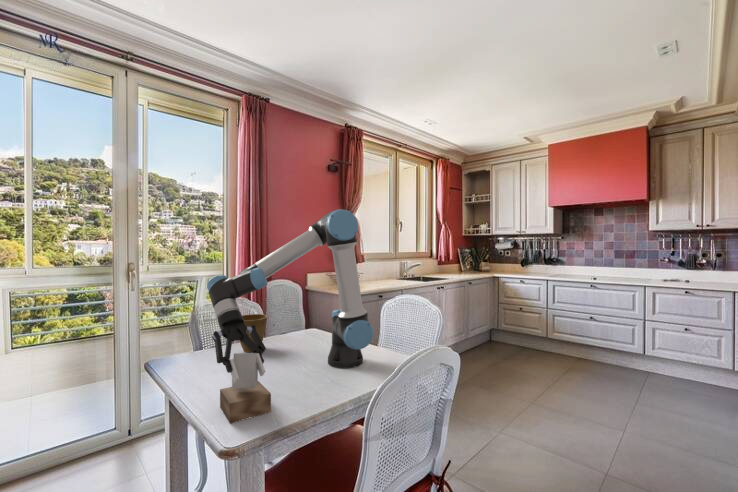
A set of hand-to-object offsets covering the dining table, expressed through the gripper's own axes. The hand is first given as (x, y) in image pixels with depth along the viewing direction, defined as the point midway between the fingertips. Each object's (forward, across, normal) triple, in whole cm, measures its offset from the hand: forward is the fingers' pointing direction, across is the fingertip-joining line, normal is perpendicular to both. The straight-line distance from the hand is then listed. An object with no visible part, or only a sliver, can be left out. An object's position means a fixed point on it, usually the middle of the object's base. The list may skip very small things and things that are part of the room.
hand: (250, 377), depth 108 cm
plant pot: (-35, -28, -51) cm, 68 cm away
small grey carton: (0, 0, -5) cm, 5 cm away
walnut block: (+6, 0, -10) cm, 12 cm away
